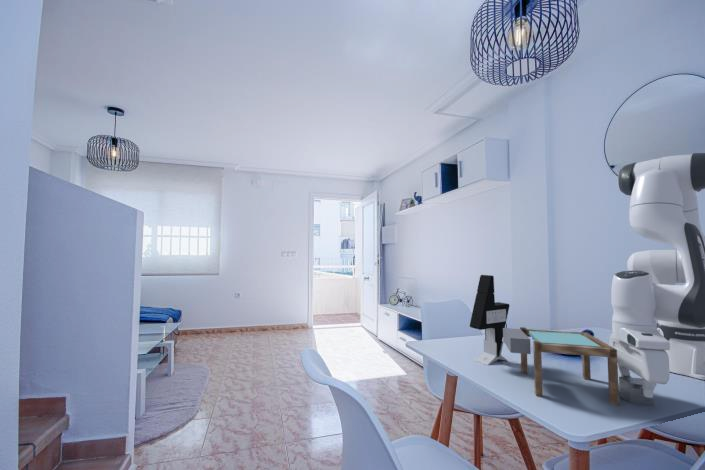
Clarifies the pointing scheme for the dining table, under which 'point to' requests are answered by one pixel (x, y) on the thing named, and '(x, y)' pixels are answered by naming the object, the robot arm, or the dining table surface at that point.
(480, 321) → the award
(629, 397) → the weight
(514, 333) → the trapdoor
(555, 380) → the dining table surface
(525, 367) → the frame
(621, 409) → the dining table surface
